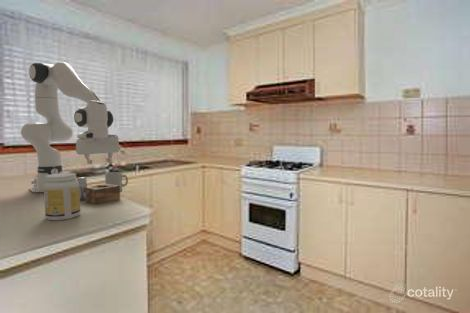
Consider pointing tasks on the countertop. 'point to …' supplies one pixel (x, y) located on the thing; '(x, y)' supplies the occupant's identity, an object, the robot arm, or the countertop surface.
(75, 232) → the countertop surface
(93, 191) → the bore block
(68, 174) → the supplement tub
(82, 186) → the cylinder
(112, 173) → the mug
